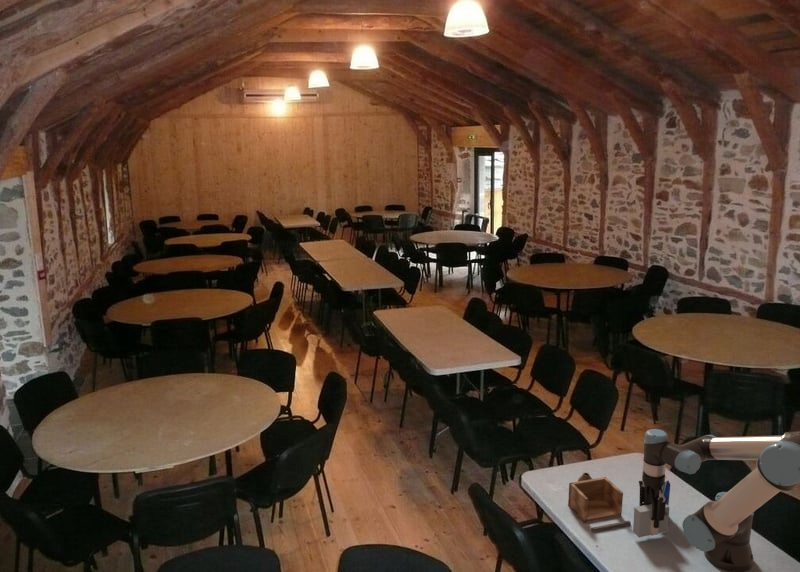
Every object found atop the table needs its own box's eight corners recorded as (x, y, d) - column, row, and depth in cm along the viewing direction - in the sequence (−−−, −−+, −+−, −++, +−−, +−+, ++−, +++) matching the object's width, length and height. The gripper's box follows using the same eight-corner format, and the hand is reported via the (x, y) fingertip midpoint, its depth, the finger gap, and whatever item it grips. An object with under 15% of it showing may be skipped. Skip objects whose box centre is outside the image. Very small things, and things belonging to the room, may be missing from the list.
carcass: (630, 524, 246) (632, 501, 243) (592, 532, 242) (593, 508, 240) (604, 499, 263) (605, 476, 260) (568, 505, 259) (569, 482, 256)
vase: (591, 488, 270) (592, 469, 268) (595, 498, 264) (597, 478, 262) (574, 488, 271) (575, 469, 269) (578, 498, 264) (579, 478, 262)
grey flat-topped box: (669, 533, 236) (671, 508, 234) (640, 539, 234) (642, 514, 231) (661, 526, 241) (663, 501, 239) (633, 532, 238) (634, 507, 236)
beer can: (669, 522, 247) (672, 484, 243) (645, 520, 249) (649, 482, 245) (665, 509, 255) (668, 472, 251) (642, 507, 257) (645, 470, 253)
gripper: (678, 481, 226) (674, 542, 231) (648, 460, 241) (645, 517, 246) (659, 485, 224) (655, 546, 229) (630, 463, 239) (627, 520, 245)
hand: (650, 531), depth 238 cm, fingers closed on grey flat-topped box, 3 cm apart
